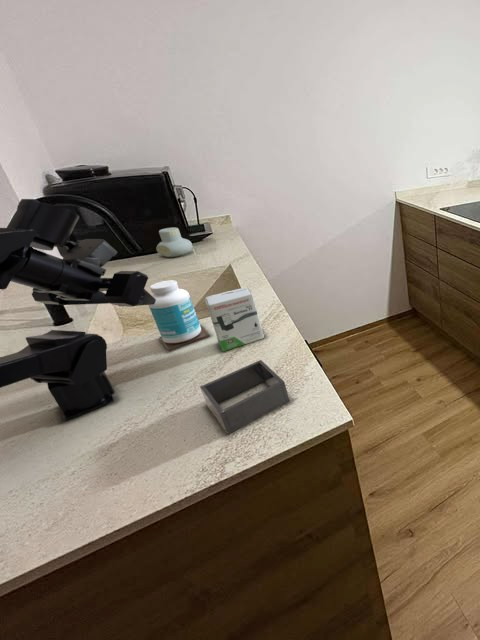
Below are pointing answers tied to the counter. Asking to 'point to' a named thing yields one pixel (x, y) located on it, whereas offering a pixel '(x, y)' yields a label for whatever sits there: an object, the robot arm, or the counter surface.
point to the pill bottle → (174, 312)
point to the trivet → (173, 346)
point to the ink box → (234, 318)
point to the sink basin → (250, 406)
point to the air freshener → (173, 243)
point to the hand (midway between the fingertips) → (133, 301)
